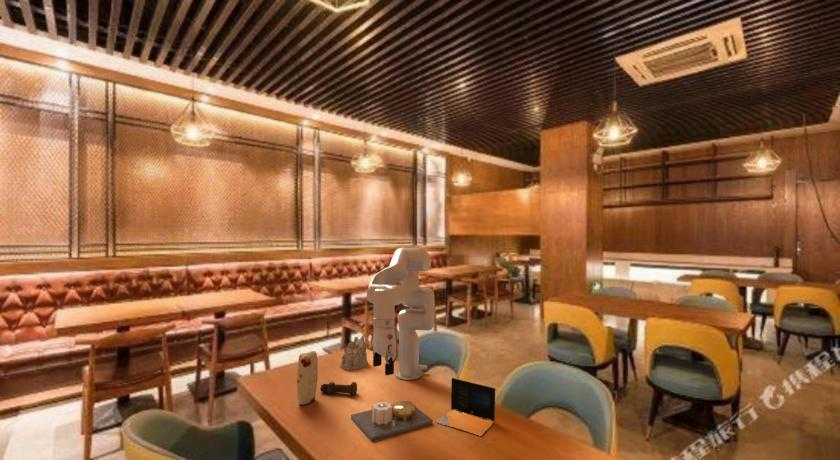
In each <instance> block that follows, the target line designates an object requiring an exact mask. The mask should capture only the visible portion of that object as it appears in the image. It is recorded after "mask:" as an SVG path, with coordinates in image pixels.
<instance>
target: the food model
mask: <svg viewBox="0 0 840 460" xmlns="http://www.w3.org/2000/svg"><path fill="white" fill-rule="evenodd" d="M318 371H319V367H318V352H317V351H315V350H312V351H309V352H305V353H300V354H299V355H298V362H297V373H296V383H297V384H296V386H297V401H298V405H307V404H310V403H312V402H313V401H315V399H316V393H317V386H318V380H319V379H318V375H319V373H318Z"/></svg>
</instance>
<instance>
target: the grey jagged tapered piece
mask: <svg viewBox="0 0 840 460" xmlns="http://www.w3.org/2000/svg"><path fill="white" fill-rule="evenodd" d="M367 347H368V345H367V344H366V340H365V335H363V334H362V335H361V337H360V338H359V337H358V336H355V337H354V340H353V341H352V342H348V344H347V346H346V347H345V348H344V350H343V351H344V353H343V355H342V357H341V362H340V365H339V368H341V369H343V370H345V371H351V370H356V369H361V368H364V367H365V366H367V365H368V364H369V363H368V358H367V356H368V354H367Z"/></svg>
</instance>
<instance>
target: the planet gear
mask: <svg viewBox="0 0 840 460" xmlns="http://www.w3.org/2000/svg"><path fill="white" fill-rule="evenodd" d="M381 404H384V405H385V407H384V408H380V405H381ZM392 405H393V403H390V402H388V401H377V402H376V403H373V404H372V409H371V410H372V422H373V423H374V422H376V423H377V424H379V425H380V424H383V423H384V424H388V422H389V421H390V422H391V421H392Z"/></svg>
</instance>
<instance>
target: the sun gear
mask: <svg viewBox="0 0 840 460" xmlns="http://www.w3.org/2000/svg"><path fill="white" fill-rule="evenodd" d="M406 401H407V400H406ZM406 401H405V400H401V401H397V402H396V401H395V402H393V403H392V405H393V406H392V415H393V416H394V417H395V419H403V420H407V419H409V418H414V414H416V408H417V405H416V404H414V403H413V402H412V401H409V402H406Z"/></svg>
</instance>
